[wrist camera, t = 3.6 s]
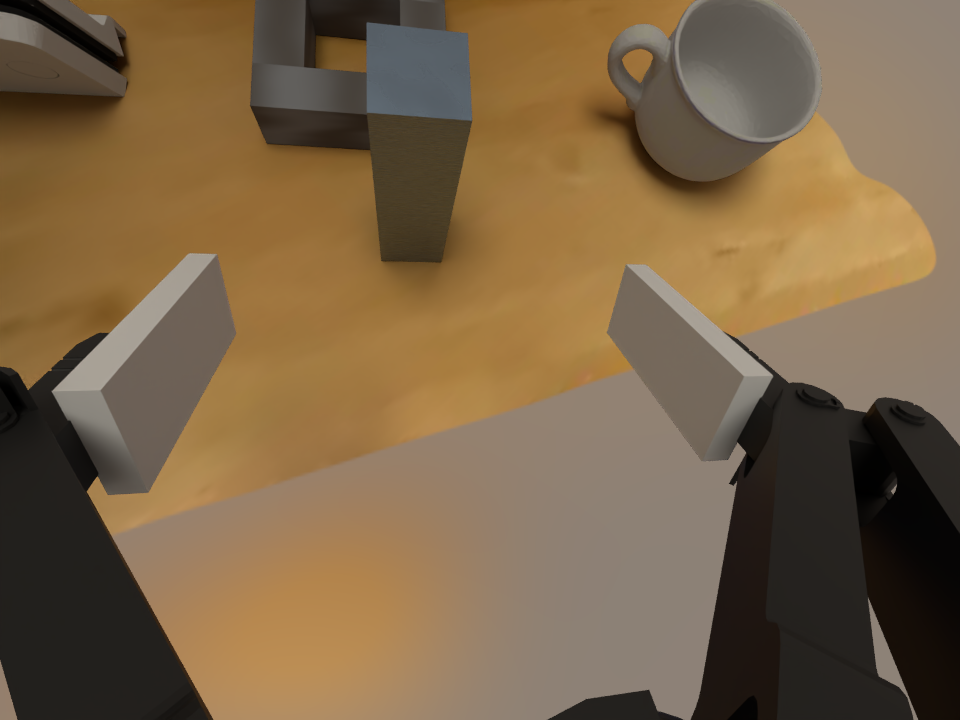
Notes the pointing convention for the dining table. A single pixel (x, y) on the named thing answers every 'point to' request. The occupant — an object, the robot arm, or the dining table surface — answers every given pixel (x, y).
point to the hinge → (58, 49)
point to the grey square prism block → (416, 134)
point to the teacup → (719, 86)
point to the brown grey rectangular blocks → (320, 92)
